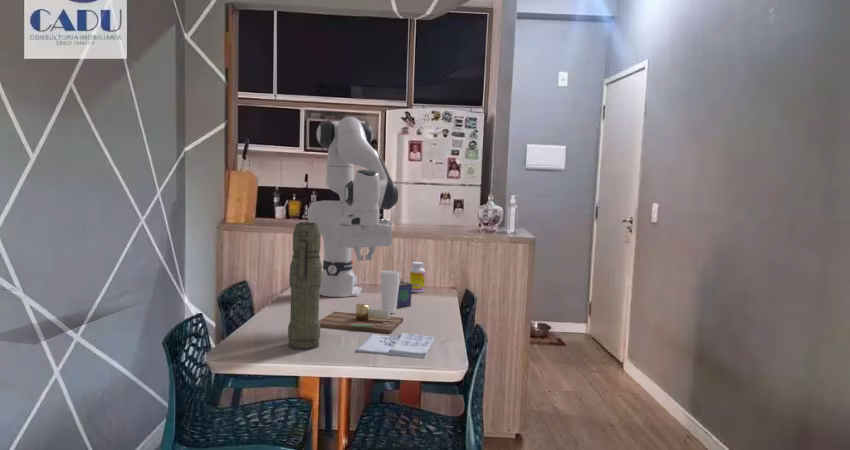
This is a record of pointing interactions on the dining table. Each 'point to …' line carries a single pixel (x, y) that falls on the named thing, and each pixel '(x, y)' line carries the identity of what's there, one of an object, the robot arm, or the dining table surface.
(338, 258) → the robot arm
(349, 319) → the dial board
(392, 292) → the drinking glass
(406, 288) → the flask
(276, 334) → the dining table surface
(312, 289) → the thermos
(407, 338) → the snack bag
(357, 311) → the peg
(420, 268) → the supplement bottle
